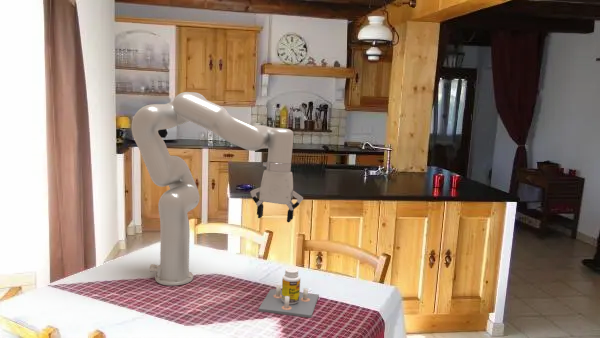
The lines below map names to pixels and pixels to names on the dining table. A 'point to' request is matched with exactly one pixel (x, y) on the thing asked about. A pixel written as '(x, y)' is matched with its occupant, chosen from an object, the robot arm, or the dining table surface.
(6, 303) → the dining table surface
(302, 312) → the peg board
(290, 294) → the supplement bottle
